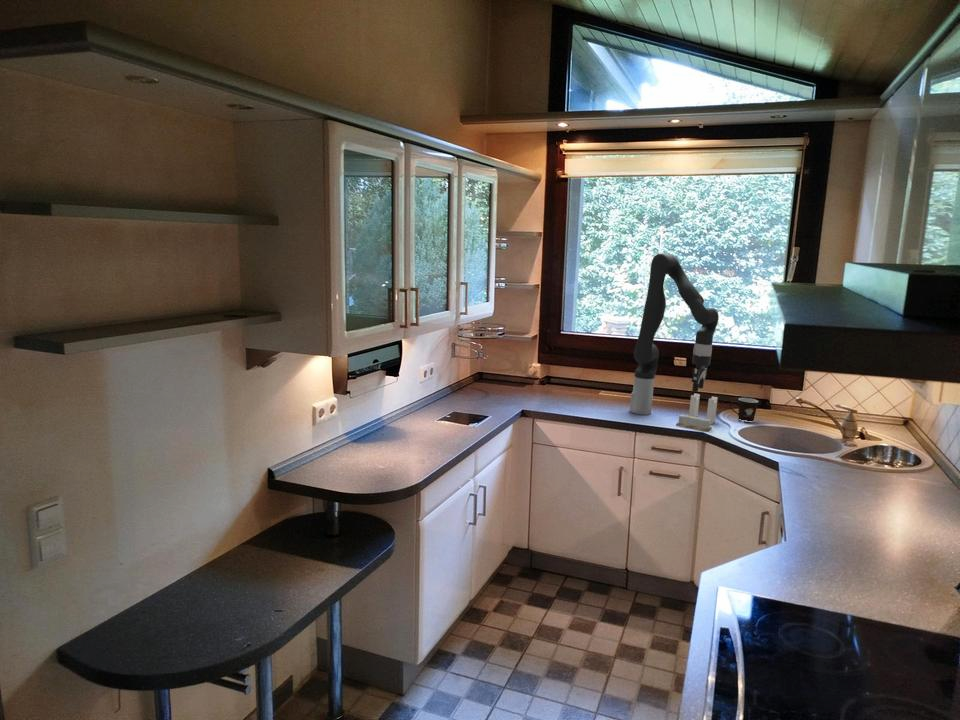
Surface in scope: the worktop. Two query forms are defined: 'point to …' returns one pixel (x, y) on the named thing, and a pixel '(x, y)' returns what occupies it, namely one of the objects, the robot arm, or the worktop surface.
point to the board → (694, 427)
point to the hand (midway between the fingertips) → (697, 389)
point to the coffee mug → (746, 408)
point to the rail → (694, 421)
